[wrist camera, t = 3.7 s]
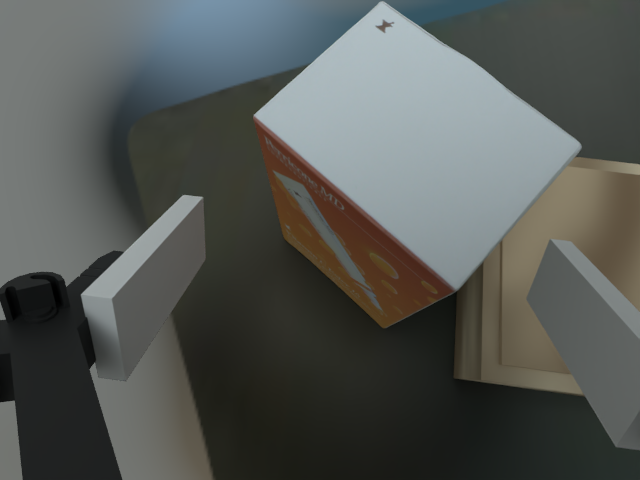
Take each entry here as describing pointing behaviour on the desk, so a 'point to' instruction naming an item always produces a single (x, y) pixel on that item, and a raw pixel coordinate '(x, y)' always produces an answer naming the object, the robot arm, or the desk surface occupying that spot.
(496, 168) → the small box
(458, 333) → the oak plinth
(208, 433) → the desk surface
